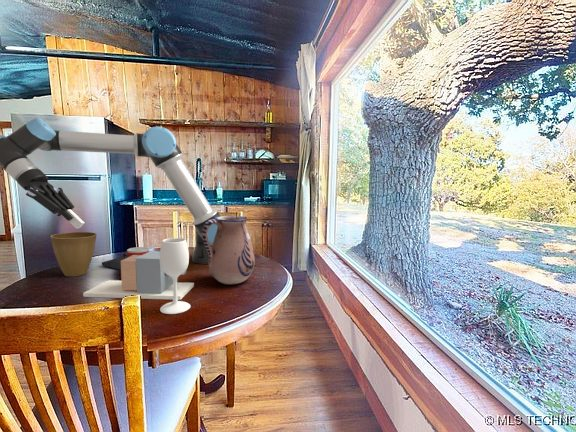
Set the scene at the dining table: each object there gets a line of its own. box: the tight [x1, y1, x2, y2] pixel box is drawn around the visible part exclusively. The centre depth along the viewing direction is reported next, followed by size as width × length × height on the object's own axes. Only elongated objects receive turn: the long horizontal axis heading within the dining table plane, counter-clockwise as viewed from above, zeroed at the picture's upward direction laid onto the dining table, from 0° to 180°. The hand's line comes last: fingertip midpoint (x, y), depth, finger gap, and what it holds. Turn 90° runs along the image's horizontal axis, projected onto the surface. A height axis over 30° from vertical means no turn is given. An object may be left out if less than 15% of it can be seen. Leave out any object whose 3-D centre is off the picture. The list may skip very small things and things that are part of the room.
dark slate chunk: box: [101, 251, 127, 271], centre depth 138 cm, size 15×22×5 cm
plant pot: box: [50, 231, 97, 277], centre depth 120 cm, size 15×15×16 cm
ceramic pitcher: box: [202, 215, 256, 285], centre depth 114 cm, size 18×21×25 cm
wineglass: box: [159, 237, 191, 315], centre depth 89 cm, size 9×9×21 cm
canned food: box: [126, 246, 150, 258], centre depth 119 cm, size 8×8×11 cm
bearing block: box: [82, 250, 195, 301], centre depth 103 cm, size 32×13×13 cm, turn 89°
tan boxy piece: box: [120, 255, 187, 291], centre depth 103 cm, size 20×8×10 cm, turn 89°
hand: (80, 225), depth 101 cm, fingers closed
